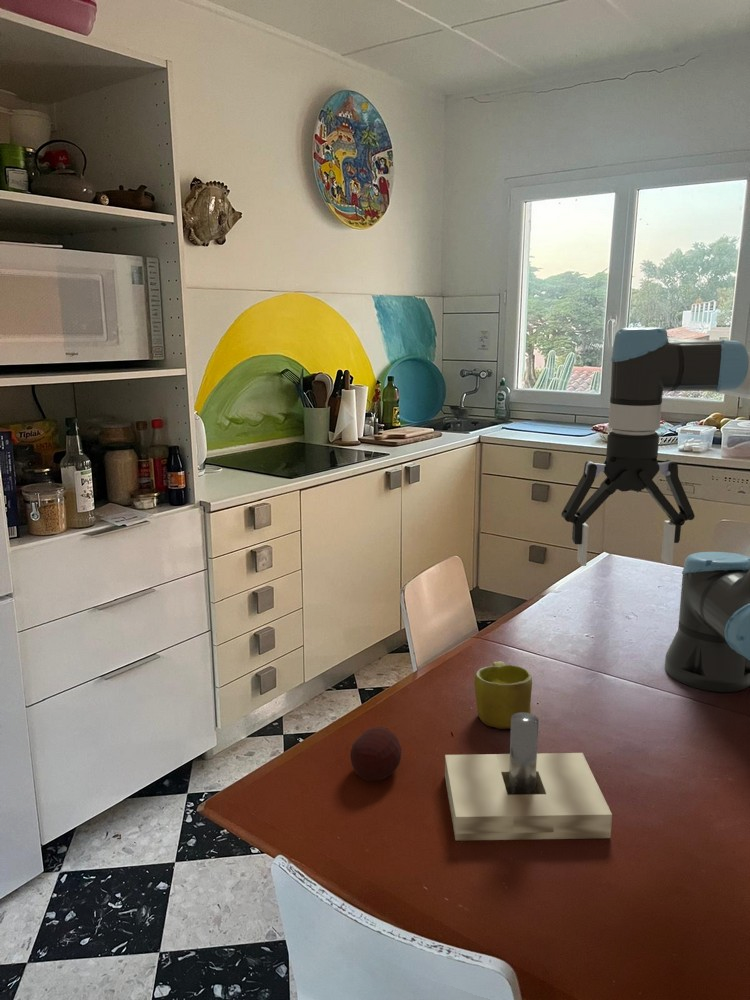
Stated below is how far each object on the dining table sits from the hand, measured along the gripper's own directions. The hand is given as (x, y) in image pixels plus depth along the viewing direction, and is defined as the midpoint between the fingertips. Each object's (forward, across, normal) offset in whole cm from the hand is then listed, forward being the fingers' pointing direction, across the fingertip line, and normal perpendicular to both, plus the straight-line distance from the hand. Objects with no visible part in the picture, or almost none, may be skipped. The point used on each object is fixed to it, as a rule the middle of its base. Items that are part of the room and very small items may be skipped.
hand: (624, 562), depth 122 cm
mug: (+27, +19, -1) cm, 33 cm away
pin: (+26, +20, +24) cm, 40 cm away
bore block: (+27, +20, +24) cm, 41 cm away
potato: (+27, +40, +15) cm, 51 cm away
